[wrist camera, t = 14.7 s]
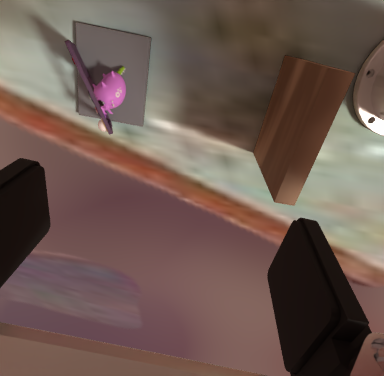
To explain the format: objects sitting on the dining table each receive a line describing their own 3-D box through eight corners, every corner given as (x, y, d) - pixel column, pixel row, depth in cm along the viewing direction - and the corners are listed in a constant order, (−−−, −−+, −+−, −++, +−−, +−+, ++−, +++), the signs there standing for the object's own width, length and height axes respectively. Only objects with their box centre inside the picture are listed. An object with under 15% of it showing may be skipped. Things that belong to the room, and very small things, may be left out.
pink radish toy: (56, 44, 23) (102, 137, 28) (112, 25, 24) (149, 119, 28) (65, 48, 29) (102, 125, 34) (110, 33, 30) (141, 110, 34)
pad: (151, 37, 29) (150, 37, 29) (143, 125, 34) (142, 126, 34) (77, 22, 29) (75, 22, 28) (80, 113, 34) (78, 114, 33)
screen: (302, 58, 30) (355, 73, 20) (267, 155, 36) (294, 205, 26) (285, 55, 30) (329, 67, 19) (253, 152, 36) (274, 202, 25)
